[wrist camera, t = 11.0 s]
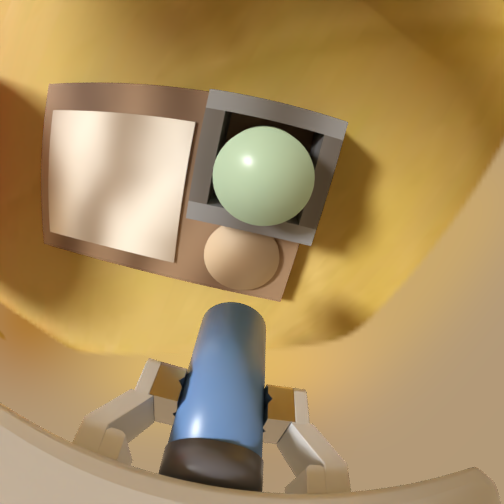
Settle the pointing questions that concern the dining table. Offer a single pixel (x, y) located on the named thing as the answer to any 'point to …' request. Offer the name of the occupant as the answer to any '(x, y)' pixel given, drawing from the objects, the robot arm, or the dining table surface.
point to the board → (171, 182)
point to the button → (263, 176)
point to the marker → (222, 403)
